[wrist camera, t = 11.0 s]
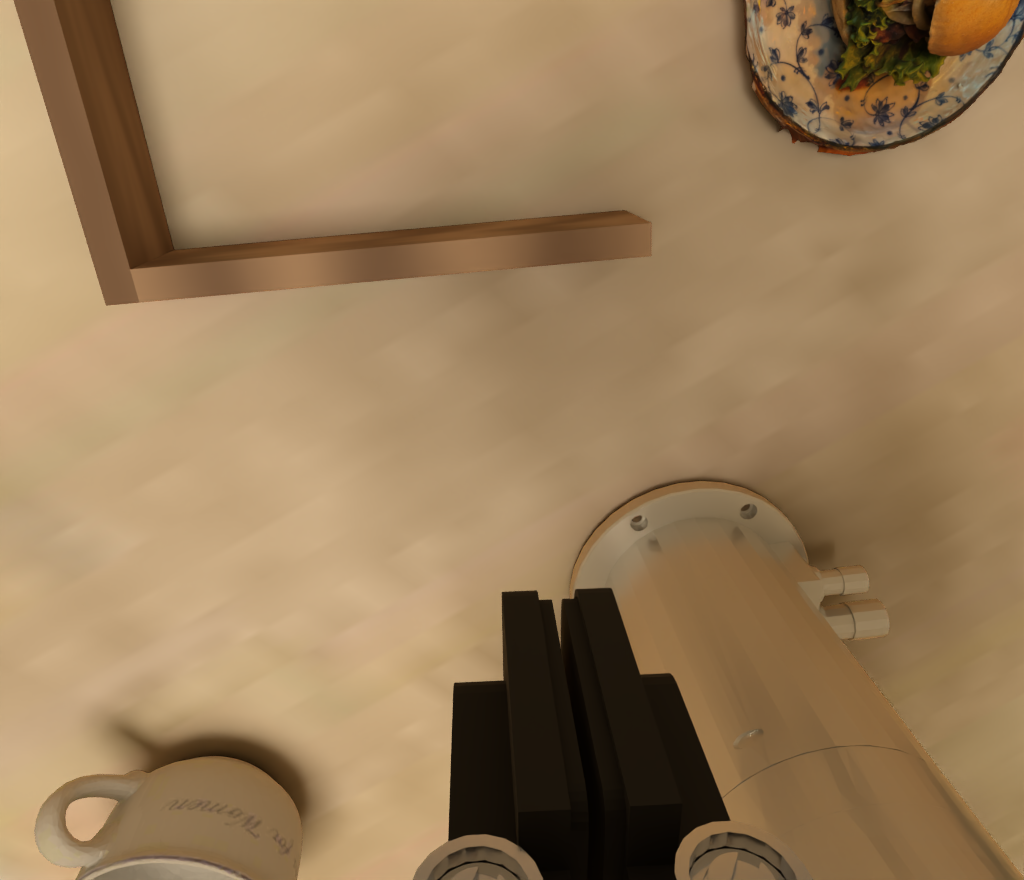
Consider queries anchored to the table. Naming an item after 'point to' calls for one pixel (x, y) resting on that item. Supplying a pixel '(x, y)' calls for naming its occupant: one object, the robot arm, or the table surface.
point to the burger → (875, 65)
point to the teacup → (179, 825)
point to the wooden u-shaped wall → (254, 266)
